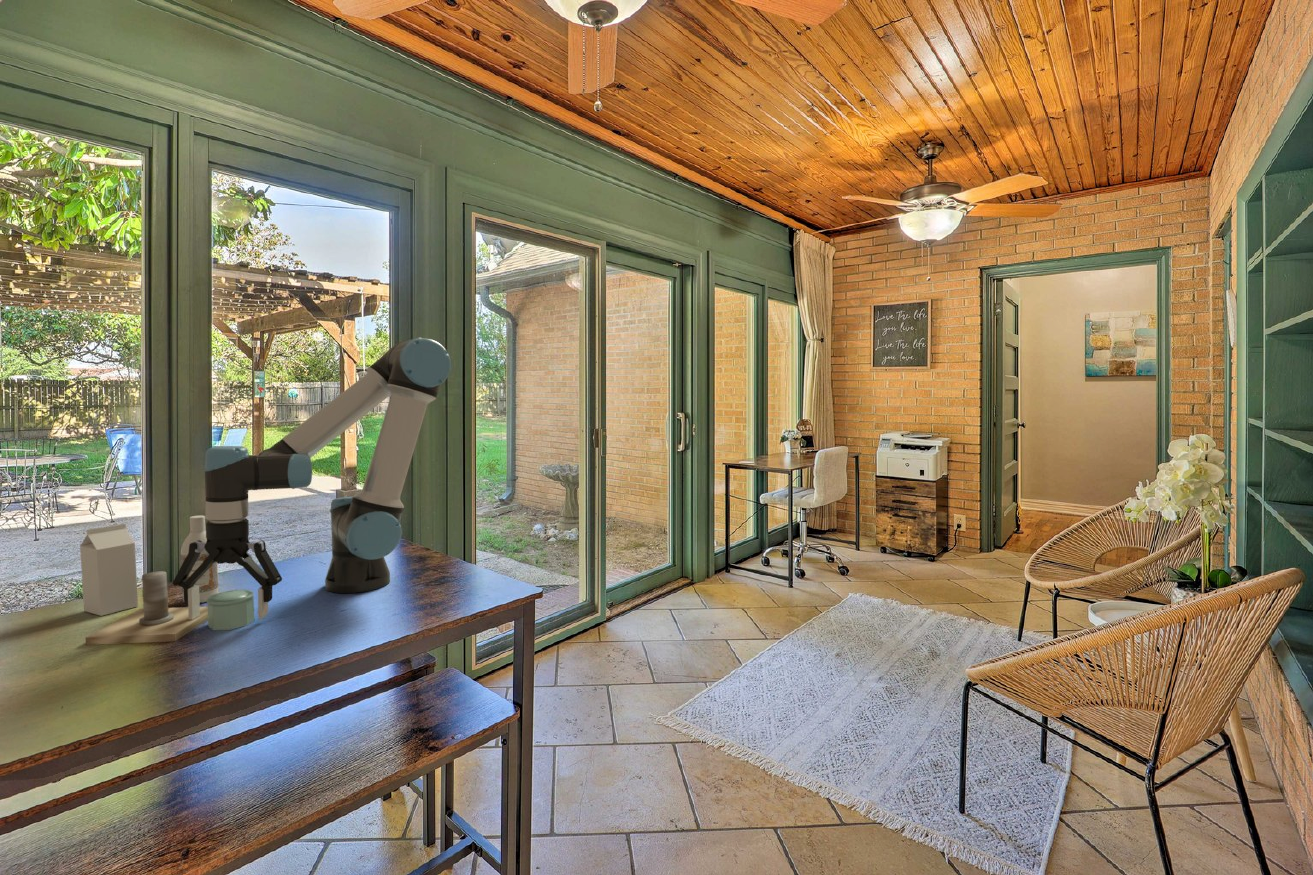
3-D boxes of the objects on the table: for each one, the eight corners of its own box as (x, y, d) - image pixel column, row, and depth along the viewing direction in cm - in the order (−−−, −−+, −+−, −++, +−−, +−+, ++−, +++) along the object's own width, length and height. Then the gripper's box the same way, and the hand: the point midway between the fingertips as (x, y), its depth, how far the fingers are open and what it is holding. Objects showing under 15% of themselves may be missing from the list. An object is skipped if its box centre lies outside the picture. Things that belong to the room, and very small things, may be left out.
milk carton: (138, 606, 144) (134, 525, 143) (100, 616, 138) (95, 531, 136) (121, 601, 147) (117, 522, 146) (83, 611, 141) (78, 528, 139)
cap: (261, 615, 140) (260, 589, 139) (242, 629, 132) (241, 601, 131) (221, 616, 139) (220, 590, 138) (199, 631, 130) (198, 603, 130)
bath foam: (181, 606, 145) (177, 520, 143) (184, 597, 151) (179, 515, 149) (218, 600, 149) (214, 517, 147) (219, 592, 155) (215, 512, 153)
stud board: (219, 612, 141) (217, 562, 140) (175, 641, 125) (172, 584, 124) (140, 615, 139) (137, 564, 138) (85, 644, 123) (82, 587, 122)
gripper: (298, 516, 139) (298, 609, 140) (173, 515, 135) (175, 611, 137) (283, 523, 131) (283, 622, 133) (150, 522, 128) (153, 624, 129)
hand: (228, 617), depth 135 cm, fingers open, 13 cm apart
